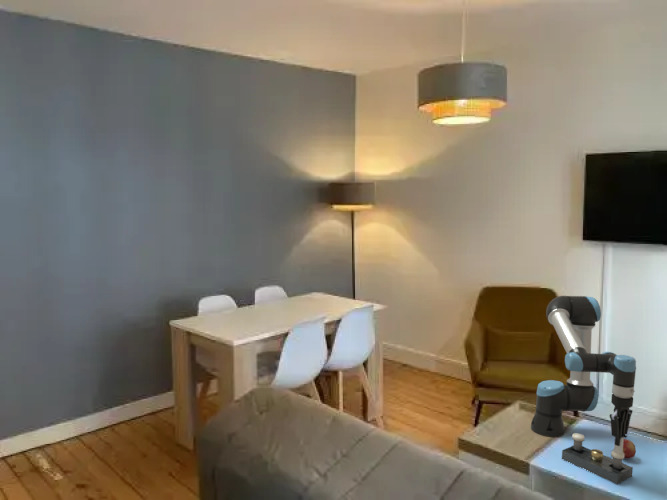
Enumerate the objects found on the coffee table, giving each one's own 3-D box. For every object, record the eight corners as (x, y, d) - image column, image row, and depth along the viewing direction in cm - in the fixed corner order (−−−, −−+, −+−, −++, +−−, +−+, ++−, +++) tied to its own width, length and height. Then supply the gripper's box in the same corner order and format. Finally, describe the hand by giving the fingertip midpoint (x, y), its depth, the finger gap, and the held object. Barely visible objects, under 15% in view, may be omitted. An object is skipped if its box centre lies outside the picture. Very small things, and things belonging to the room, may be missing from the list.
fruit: (634, 464, 230) (636, 446, 229) (614, 459, 234) (615, 441, 233) (635, 457, 237) (637, 439, 236) (615, 452, 241) (617, 434, 240)
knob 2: (608, 465, 219) (609, 452, 219) (614, 462, 222) (615, 449, 221) (619, 470, 216) (620, 456, 215) (625, 467, 218) (626, 453, 218)
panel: (561, 459, 233) (562, 450, 233) (576, 452, 239) (577, 444, 239) (617, 484, 213) (618, 474, 213) (632, 476, 220) (632, 467, 219)
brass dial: (588, 457, 226) (589, 450, 226) (594, 455, 229) (595, 447, 229) (598, 462, 223) (599, 454, 223) (604, 459, 225) (605, 451, 225)
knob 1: (569, 447, 233) (570, 434, 233) (575, 445, 236) (576, 432, 235) (579, 452, 230) (580, 438, 229) (585, 449, 232) (586, 436, 232)
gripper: (623, 401, 209) (618, 460, 211) (640, 395, 216) (636, 452, 219) (604, 395, 215) (600, 452, 218) (621, 389, 223) (617, 445, 225)
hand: (618, 452), depth 218 cm, fingers closed
